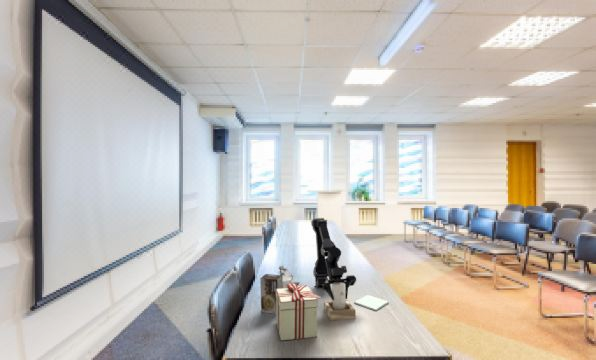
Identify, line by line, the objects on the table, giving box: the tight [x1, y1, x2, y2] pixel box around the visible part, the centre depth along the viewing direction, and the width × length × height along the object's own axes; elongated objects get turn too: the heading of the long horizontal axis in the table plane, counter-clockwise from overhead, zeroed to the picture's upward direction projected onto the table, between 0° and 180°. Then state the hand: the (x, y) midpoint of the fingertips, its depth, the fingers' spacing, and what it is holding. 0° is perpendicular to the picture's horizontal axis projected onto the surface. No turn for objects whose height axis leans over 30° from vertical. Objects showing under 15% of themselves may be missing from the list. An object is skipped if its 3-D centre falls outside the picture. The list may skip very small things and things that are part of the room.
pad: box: [353, 294, 389, 312], centre depth 143 cm, size 12×12×1 cm
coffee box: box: [259, 273, 283, 314], centre depth 137 cm, size 9×6×16 cm
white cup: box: [282, 276, 293, 288], centre depth 152 cm, size 8×8×10 cm
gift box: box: [275, 283, 323, 341], centre depth 120 cm, size 17×18×17 cm
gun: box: [279, 265, 300, 285], centre depth 187 cm, size 36×4×10 cm
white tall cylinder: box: [331, 282, 347, 311], centre depth 132 cm, size 8×6×13 cm
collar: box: [323, 299, 357, 321], centre depth 133 cm, size 11×11×4 cm
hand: (339, 299), depth 131 cm, fingers closed on white tall cylinder, 6 cm apart
